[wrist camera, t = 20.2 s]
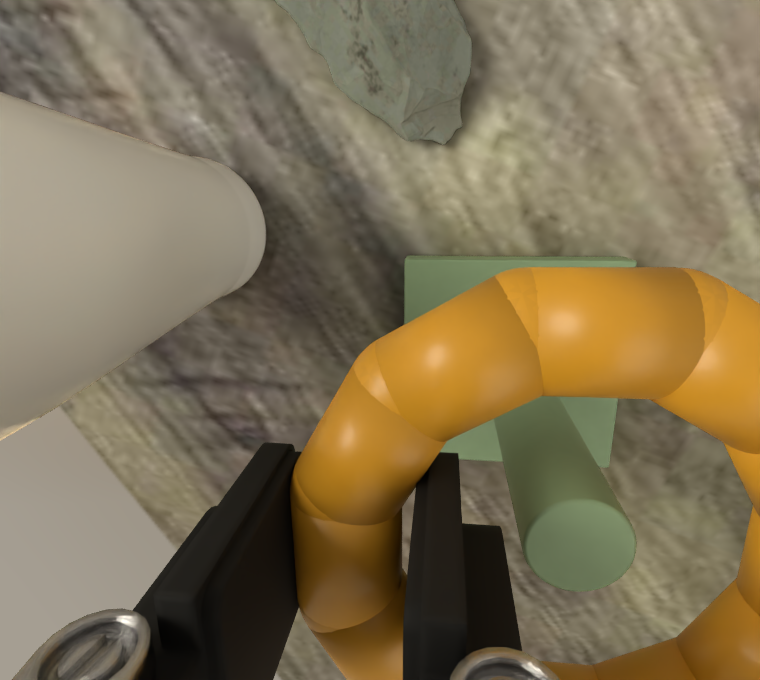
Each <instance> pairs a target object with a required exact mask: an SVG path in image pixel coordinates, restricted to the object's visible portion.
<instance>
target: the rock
mask: <svg viewBox="0 0 760 680" xmlns="http://www.w3.org/2000/svg"><path fill="white" fill-rule="evenodd" d="M275 2H276V3H277V4H278V5H279V6H280V7H282V8H283V9H284V10H286V11H287V12H288V13H289V15H290V16H291V17H292V18H293V20H294V21H295V22H296V23H297V24H298V26H299V28H300V29H301V31H302V33H303V34H304V36H305V38H306V41H307V43H308V45H309V46H310V48H311V49H313V50H315V51H316V52H318V53H319V54H321V55H322V56H323V57H324V58H325V59H326V61H327V63H328V65H329V69H330V73H331V75H332V78H333V82H334V83H335V85H336V86H337V87H338V88H339V89H340V90H341V91H343V92H344V93H345V94H346V95H347V96H348V97H349V98H350V99H351V100H353V101H354V102H356V103H357V104H359V105H361V106H363V107H364V108H365V109H367V110H368V111H370V112H371V113H373V114H374V115H375V116H377V117H380V118H381V119H383V120H384V121H385V122H386V123H387V124H388V125H390V126H391V127H392V128H393V129H394V130H395V132H396V133H397V134H398V135H399V136H400V137H402V138H403V139H404V140H406V141H414V140H418V139H420V140H433V141H435V142H437V143H439V144H443V145H445V143H446V142H447V141H448V140H450V139H451V138H452V136H453V134H454V133H455V131H456V130H457V129H459V128H462V126H463V124H462V120H461V113H460V105H461V97H462V94H463V90H464V86H465V83H466V81H467V79H468V77H469V75H470V71H471V68H470V66H471V59H472V42H471V38H470V35H469V33H468V32H467V29H466V25H465V21H464V19H463V18H462V17H461V15H460V13H459V11H458V9H457V7H456V5H455V2H454V1H453V0H275Z"/></svg>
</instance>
